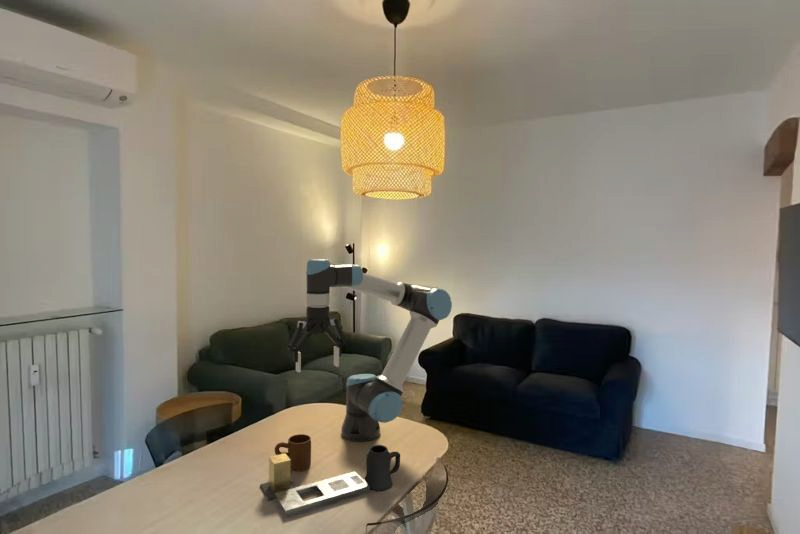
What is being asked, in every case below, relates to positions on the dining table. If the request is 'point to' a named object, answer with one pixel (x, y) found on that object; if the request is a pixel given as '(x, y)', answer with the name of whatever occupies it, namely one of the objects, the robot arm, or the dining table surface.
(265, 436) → the dining table surface
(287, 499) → the grey board with slots
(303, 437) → the mug
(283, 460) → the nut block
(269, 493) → the rubber mat
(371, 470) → the mug
